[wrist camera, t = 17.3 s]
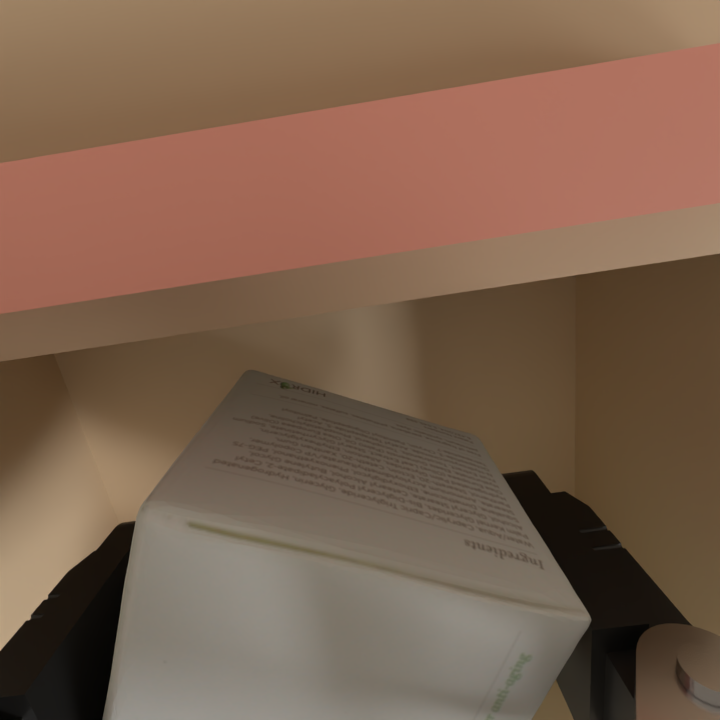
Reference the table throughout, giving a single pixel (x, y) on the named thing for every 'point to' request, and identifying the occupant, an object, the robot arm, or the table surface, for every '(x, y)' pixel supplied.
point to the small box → (336, 573)
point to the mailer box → (410, 397)
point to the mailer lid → (338, 155)
